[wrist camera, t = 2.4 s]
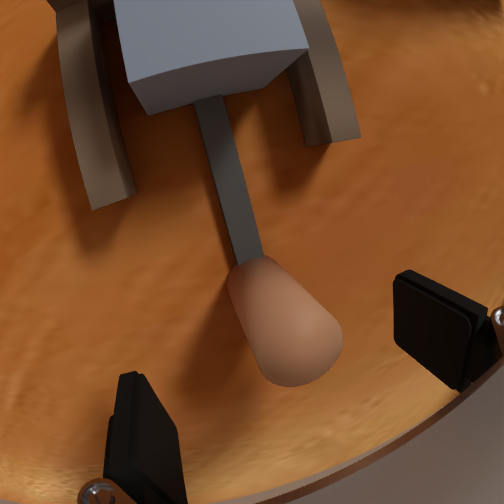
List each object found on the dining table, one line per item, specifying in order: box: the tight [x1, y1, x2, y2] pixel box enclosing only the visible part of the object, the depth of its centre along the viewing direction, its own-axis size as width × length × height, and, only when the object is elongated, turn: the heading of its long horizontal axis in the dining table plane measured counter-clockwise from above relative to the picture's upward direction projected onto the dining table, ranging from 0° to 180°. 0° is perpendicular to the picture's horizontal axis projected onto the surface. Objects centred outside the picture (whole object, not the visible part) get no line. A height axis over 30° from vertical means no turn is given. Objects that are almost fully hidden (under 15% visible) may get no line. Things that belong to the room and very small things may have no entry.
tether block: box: [114, 0, 343, 387], centre depth 11 cm, size 18×6×7 cm, turn 15°
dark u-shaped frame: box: [47, 0, 361, 211], centre depth 11 cm, size 12×12×5 cm
